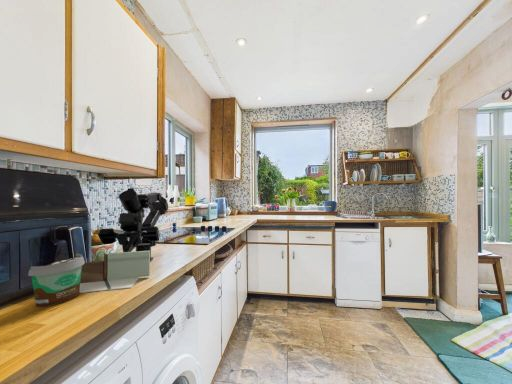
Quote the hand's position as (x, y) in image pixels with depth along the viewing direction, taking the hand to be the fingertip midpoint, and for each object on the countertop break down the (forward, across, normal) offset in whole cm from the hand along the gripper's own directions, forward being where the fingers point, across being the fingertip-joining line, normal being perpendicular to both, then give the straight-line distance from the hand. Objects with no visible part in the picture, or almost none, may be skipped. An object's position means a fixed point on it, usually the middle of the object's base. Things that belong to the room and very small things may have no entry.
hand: (125, 255), depth 76 cm
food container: (+15, -10, -5) cm, 19 cm away
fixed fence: (+6, -8, +3) cm, 11 cm away
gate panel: (+6, +2, +3) cm, 7 cm away
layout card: (+7, -4, +3) cm, 9 cm away
